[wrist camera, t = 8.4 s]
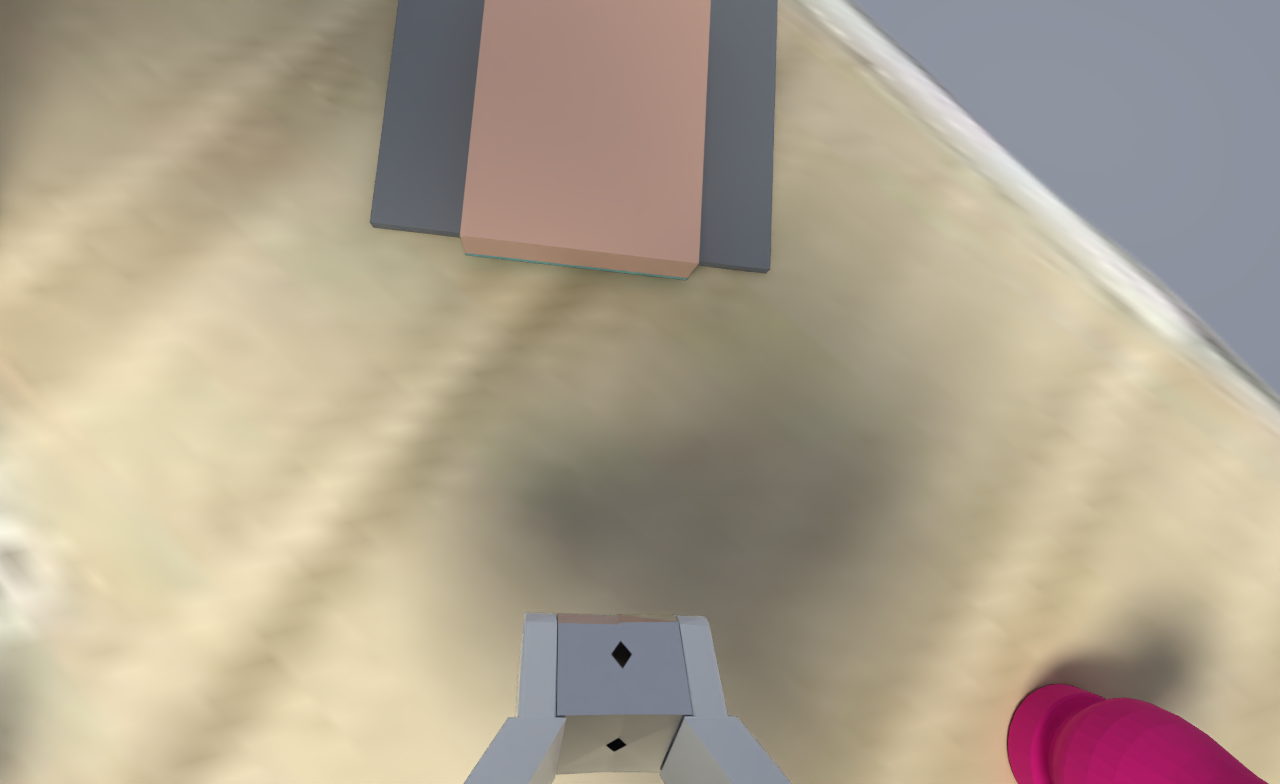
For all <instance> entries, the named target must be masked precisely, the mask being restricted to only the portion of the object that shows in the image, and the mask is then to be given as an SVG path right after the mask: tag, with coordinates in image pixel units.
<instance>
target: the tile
mask: <svg viewBox="0 0 1280 784" xmlns="http://www.w3.org/2000/svg"><path fill="white" fill-rule="evenodd" d="M710 8H711V0H485V3H484V13H483V22H482V32H481V41H480V50H479V60H478V69H477V79H476V88H475V98H474V107H473V116H472V126H471V135H470V145H469V154H468V164H467V173H466V183H465V192H464V201H463V211H462V220H461V230H460V238H461V241H462V245H463V248H464V252H465V255H469V256H478V257H487V258H496V259H504V260H513V261H522V262H531V263H540V264H549V265H558V266H566V267H575V268H584V269H593V270H602V271H611V272H619V273H628V274H637V275H646V276H655V277H664V278H673V279H681V280H687V278H688V277H689V276H690V275H691V273H692V272H693V271H694V269H695V268H696V267H697V265H698V264H699V251H700V229H701V207H702V185H703V163H704V141H705V119H706V96H707V74H708V52H709V30H710Z"/></svg>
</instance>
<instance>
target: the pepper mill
mask: <svg viewBox="0 0 1280 784" xmlns="http://www.w3.org/2000/svg"><path fill="white" fill-rule="evenodd" d="M1008 753H1009V761H1010V764H1011V767H1012V771H1013V774H1014V777H1015V779H1016V781H1017V782H1018V784H1268V783H1267V782H1265V781H1264V780H1262V779H1260V778H1259V777H1257V776H1256V775H1255V774H1254V773H1252V772H1251V771H1250V770H1249V769H1247V768H1246V767H1245V766H1244V765H1243V764H1242V763H1240V762H1239V761H1238V760H1237V759H1236V758H1234V757H1233V756H1232V755H1231V754H1230V753H1229V752H1227V751H1226V750H1225V749H1224V748H1223V747H1222V746H1220V745H1219V744H1218V743H1217V742H1216V741H1214V740H1213V739H1212V738H1211V737H1210V736H1208V735H1207V734H1206V733H1204V732H1203V731H1201V730H1199V729H1198V728H1196V727H1195V726H1193V725H1192V724H1190V723H1189V722H1187V721H1186V720H1184V719H1183V718H1181V717H1179V716H1177V715H1175V714H1173V713H1171V712H1168V711H1166V710H1164V709H1162V708H1160V707H1157V706H1155V705H1153V704H1151V703H1148V702H1144V701H1141V700H1136V699H1130V698H1113V699H1108V700H1107V699H1105V698H1103V697H1101V696H1098V695H1096V694H1093V693H1090V692H1088V691H1085V690H1082V689H1080V688H1077V687H1074V686H1071V685H1066V684H1053V685H1048V686H1045V687H1042V688H1039V689H1038V690H1036V691H1034V692H1033V693H1031V694H1030V695H1028V696H1027V697H1026V698H1025V700H1024V701H1023V702H1022V704H1021V705H1020V706H1019V707H1018V709H1017V710H1016V712H1015V714H1014V717H1013V720H1012V722H1011V725H1010V729H1009V736H1008Z"/></svg>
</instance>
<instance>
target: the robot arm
mask: <svg viewBox="0 0 1280 784" xmlns="http://www.w3.org/2000/svg"><path fill="white" fill-rule="evenodd" d="M595 772H661V773H660V776H661V778H662V780H663V781H664V783H665V784H791V782H790V781H789V780H788V779H787V777H786V776H785V775H784V774H783V772H782V771H781V770H780V769H779V767H778V766H777V765H776V764H775V763H774V761H773V760H772V759H771V758H770V756H769V755H768V754H767V753H766V751H765V750H764V749H763V748H762V747H761V745H760V744H759V743H758V742H757V740H756V739H755V738H754V737H753V735H752V734H751V733H750V732H749V731H748V729H747V728H746V727H745V726H744V724H743V723H742V722H741V721H740V719H739V718H738V717H737V716H728V713H727V708H726V703H725V698H724V693H723V688H722V684H721V679H720V674H719V669H718V664H717V659H716V654H715V649H714V644H713V639H712V634H711V629H710V624H709V622H708V620H707V619H706V617H704V616H674V615H595V614H556V613H526V612H525V614H524V623H523V632H522V641H521V650H520V660H519V670H518V681H517V696H516V711H515V717H510V718H508V719H507V720H506V722H505V723H504V724H503V726H502V727H501V729H500V730H499V732H498V733H497V735H496V736H495V738H494V739H493V741H492V742H491V744H490V745H489V747H488V748H487V750H486V751H485V753H484V754H483V756H482V757H481V759H480V760H479V762H478V763H477V764H476V766H475V767H474V769H473V770H472V772H471V773H470V775H469V776H468V778H467V779H466V781H465V782H464V784H552V782H553V780H554V779H555V774H575V773H595Z"/></svg>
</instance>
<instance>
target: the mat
mask: <svg viewBox="0 0 1280 784" xmlns="http://www.w3.org/2000/svg"><path fill="white" fill-rule="evenodd" d="M484 3H485V0H399V2H398V10H397V18H396V25H395V33H394V41H393V49H392V56H391V64H390V72H389V80H388V87H387V95H386V103H385V111H384V118H383V126H382V134H381V142H380V149H379V157H378V165H377V172H376V180H375V188H374V196H373V203H372V211H371V219H370V223H371V225H372V226H373V227H375V228H384V229H392V230H401V231H409V232H418V233H427V234H435V235H444V236H452V237H460V230H461V220H462V211H463V201H464V192H465V183H466V173H467V164H468V154H469V145H470V135H471V126H472V116H473V107H474V98H475V88H476V79H477V69H478V60H479V50H480V41H481V32H482V22H483V13H484ZM776 35H777V0H711V8H710V30H709V52H708V74H707V96H706V119H705V141H704V163H703V185H702V207H701V229H700V251H699V264H698V265H700V266H708V267H717V268H725V269H734V270H743V271H751V272H760V273H767V272H768V271H769V270H770V254H771V218H772V181H773V145H774V108H775V72H776Z"/></svg>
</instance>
